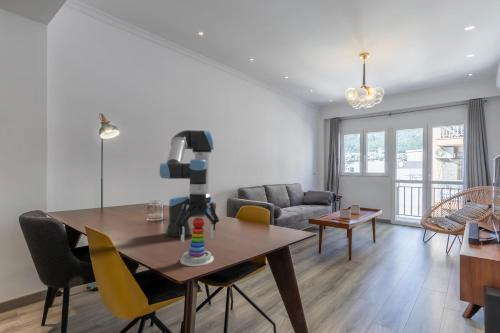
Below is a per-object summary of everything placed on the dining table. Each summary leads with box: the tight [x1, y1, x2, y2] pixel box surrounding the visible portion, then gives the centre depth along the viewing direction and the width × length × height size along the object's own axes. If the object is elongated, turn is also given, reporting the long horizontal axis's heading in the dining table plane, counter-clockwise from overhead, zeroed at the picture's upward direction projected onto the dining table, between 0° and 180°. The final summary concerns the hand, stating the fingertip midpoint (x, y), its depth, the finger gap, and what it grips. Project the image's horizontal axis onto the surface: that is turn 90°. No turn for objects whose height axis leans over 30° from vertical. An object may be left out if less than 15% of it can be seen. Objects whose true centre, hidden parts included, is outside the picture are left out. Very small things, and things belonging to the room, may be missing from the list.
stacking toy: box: [188, 217, 206, 258], centre depth 121 cm, size 8×8×19 cm
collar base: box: [179, 250, 215, 267], centre depth 121 cm, size 15×15×3 cm
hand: (197, 239), depth 121 cm, fingers open, 13 cm apart
